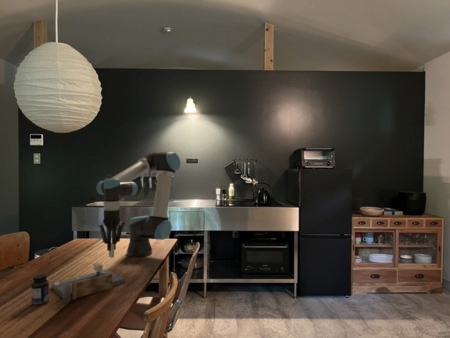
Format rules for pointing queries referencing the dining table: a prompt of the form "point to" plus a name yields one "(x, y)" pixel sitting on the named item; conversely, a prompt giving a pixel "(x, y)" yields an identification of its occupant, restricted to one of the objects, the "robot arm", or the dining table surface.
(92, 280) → the door
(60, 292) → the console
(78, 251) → the dining table surface
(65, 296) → the hinge bracket
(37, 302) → the pill bottle
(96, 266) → the fader knob
